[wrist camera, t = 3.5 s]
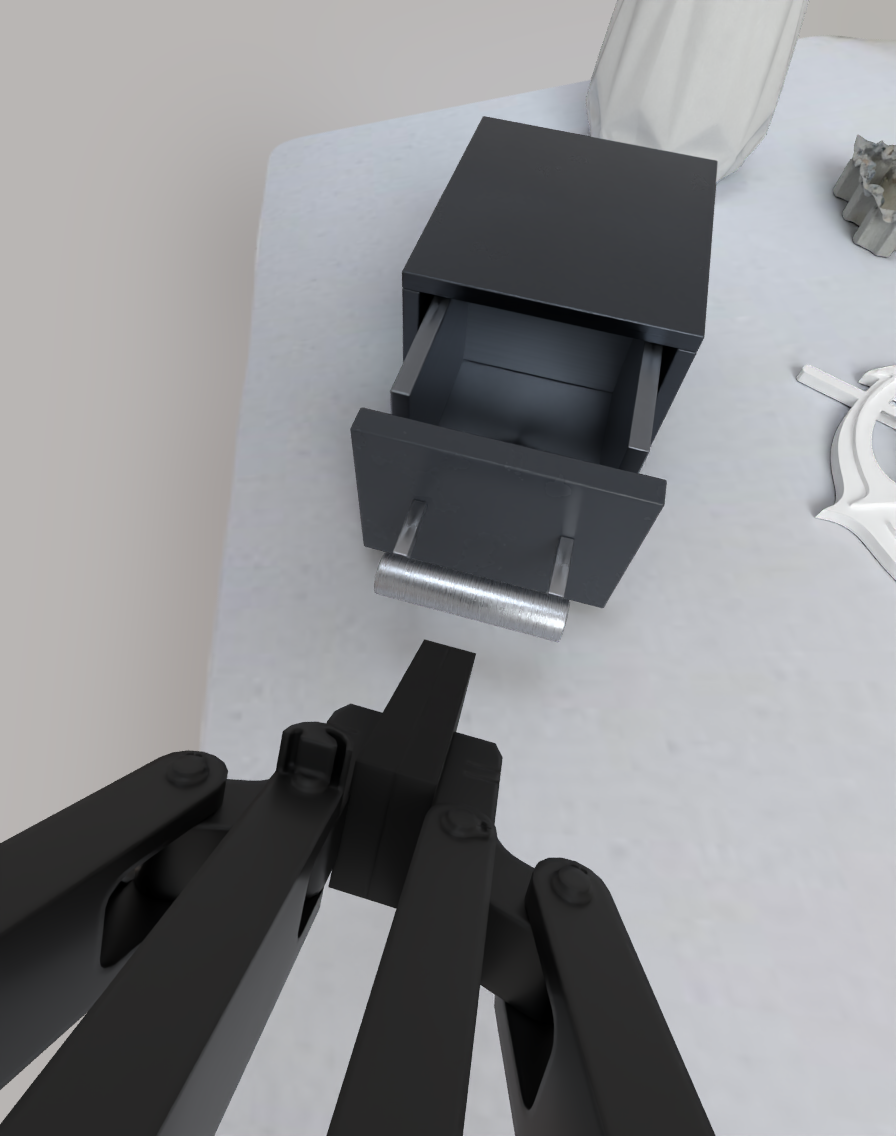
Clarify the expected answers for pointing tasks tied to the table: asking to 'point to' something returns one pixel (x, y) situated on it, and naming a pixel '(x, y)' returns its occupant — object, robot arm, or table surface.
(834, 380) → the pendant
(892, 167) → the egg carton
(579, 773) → the table surface
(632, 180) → the small drawer cabinet
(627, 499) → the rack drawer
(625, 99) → the vase
